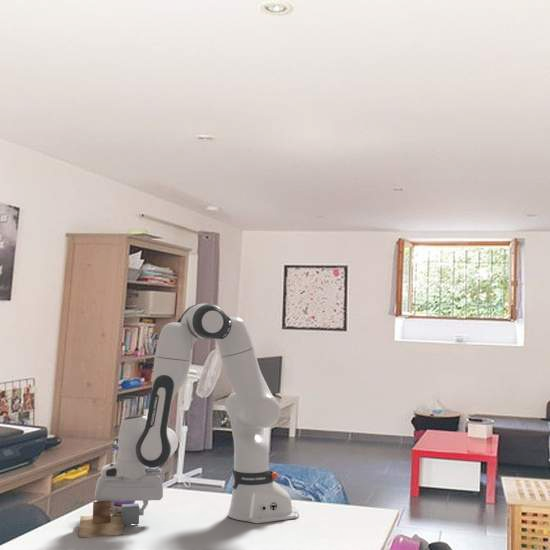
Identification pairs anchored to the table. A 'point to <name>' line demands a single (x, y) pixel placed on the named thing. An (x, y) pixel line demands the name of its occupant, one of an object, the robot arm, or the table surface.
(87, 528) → the base board
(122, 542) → the table surface
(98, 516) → the walnut block
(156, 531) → the table surface
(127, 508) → the slate block
